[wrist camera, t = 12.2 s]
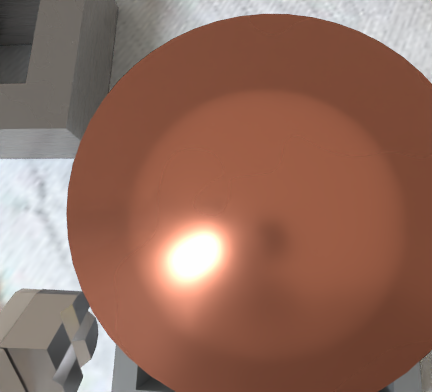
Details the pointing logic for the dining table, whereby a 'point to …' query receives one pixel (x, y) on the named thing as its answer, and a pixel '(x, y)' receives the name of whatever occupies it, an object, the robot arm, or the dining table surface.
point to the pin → (261, 209)
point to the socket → (55, 74)
